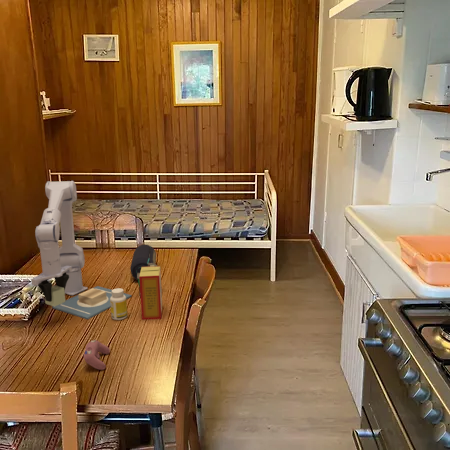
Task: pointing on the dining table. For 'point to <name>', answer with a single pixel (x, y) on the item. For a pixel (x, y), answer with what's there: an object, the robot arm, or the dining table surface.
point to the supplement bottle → (118, 304)
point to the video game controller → (95, 354)
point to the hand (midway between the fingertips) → (55, 298)
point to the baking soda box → (151, 292)
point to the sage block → (56, 296)
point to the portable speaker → (142, 259)
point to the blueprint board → (86, 309)
